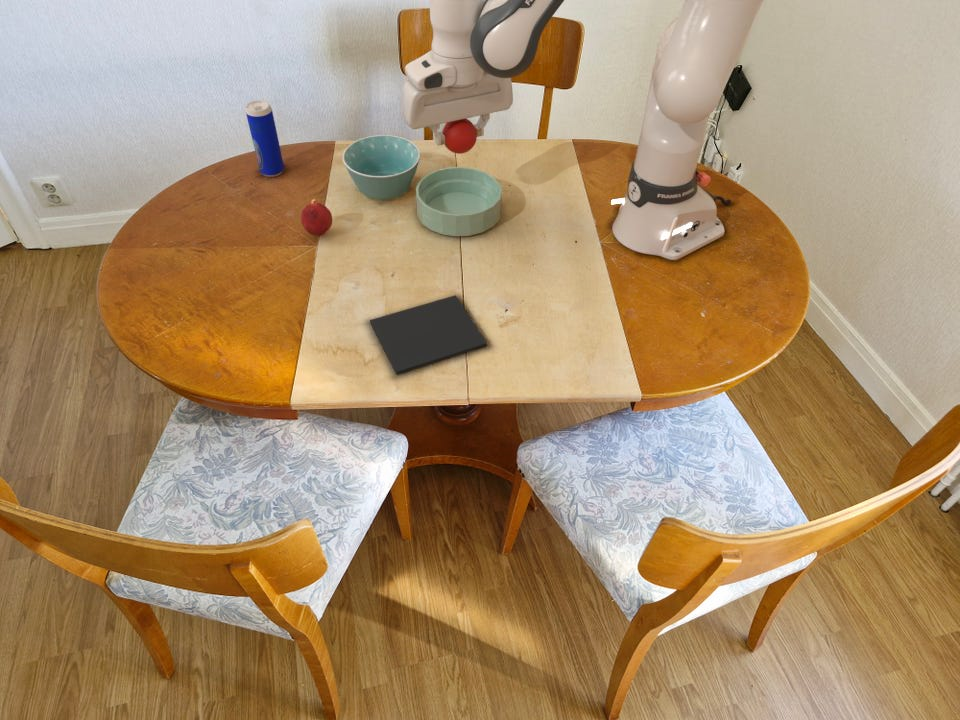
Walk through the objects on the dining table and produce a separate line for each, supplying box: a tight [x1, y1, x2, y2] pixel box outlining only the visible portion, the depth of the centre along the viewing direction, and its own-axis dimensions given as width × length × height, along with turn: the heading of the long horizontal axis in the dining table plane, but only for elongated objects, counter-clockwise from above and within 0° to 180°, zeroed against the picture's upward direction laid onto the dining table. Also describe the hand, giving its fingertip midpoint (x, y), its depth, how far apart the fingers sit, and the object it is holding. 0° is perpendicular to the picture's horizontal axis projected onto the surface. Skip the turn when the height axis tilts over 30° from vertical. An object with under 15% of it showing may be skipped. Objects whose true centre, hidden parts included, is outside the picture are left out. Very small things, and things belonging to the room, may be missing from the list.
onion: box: [300, 198, 333, 237], centre depth 132 cm, size 6×6×8 cm
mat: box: [369, 295, 488, 376], centre depth 116 cm, size 16×13×1 cm
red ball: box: [441, 118, 478, 155], centre depth 127 cm, size 6×6×6 cm
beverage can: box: [245, 99, 285, 178], centre depth 144 cm, size 5×5×15 cm
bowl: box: [342, 134, 421, 202], centre depth 143 cm, size 16×16×8 cm
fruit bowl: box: [415, 166, 503, 237], centre depth 139 cm, size 17×17×6 cm
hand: (459, 139), depth 127 cm, fingers closed on red ball, 6 cm apart
